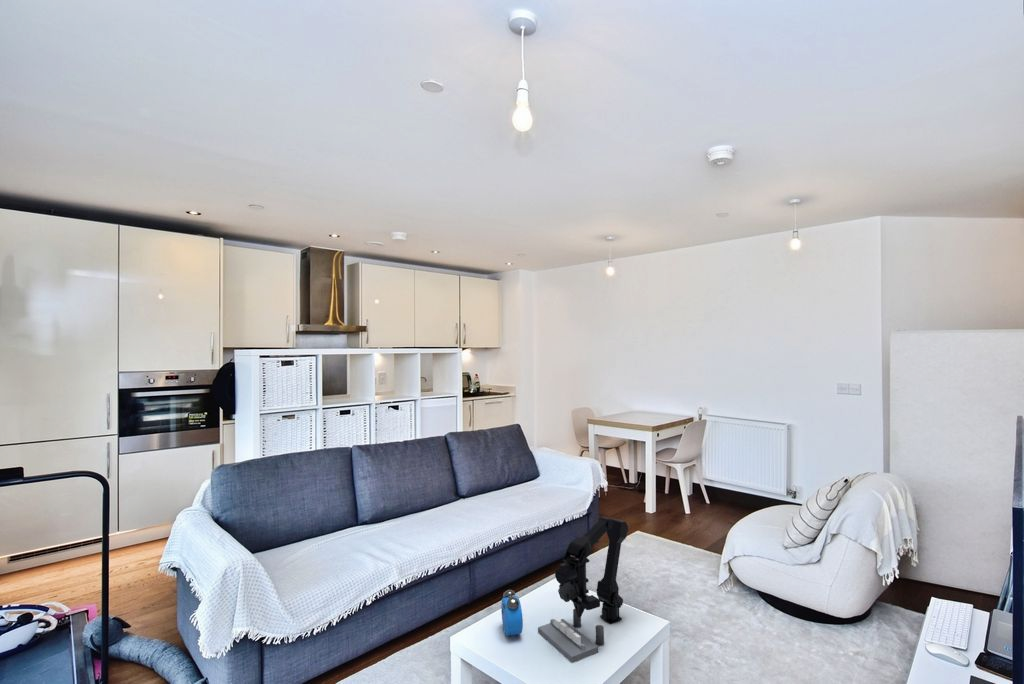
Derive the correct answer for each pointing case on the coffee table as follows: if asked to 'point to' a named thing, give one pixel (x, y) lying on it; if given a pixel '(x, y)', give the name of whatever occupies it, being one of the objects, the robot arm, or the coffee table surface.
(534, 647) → the coffee table surface
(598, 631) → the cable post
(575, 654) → the breaker panel
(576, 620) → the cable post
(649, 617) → the coffee table surface
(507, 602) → the alarm clock
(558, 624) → the breaker paddles
